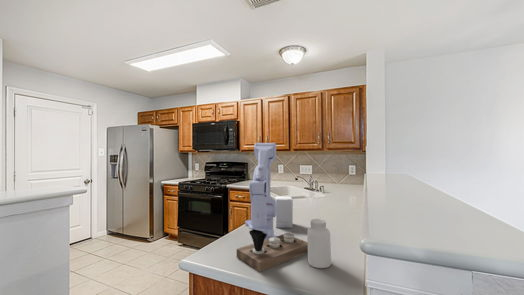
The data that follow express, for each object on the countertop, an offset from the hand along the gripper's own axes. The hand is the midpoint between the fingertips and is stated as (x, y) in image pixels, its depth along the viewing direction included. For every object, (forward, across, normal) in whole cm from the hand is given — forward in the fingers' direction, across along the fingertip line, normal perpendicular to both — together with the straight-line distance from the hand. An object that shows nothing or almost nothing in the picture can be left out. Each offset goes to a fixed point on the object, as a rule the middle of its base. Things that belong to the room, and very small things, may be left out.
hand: (258, 250), depth 84 cm
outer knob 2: (+1, 0, +16) cm, 16 cm away
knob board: (+3, 0, +8) cm, 9 cm away
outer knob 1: (+3, 0, 0) cm, 3 cm away
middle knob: (+1, 0, +8) cm, 8 cm away
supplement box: (+4, -23, +36) cm, 43 cm away
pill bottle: (+3, +16, +15) cm, 22 cm away
